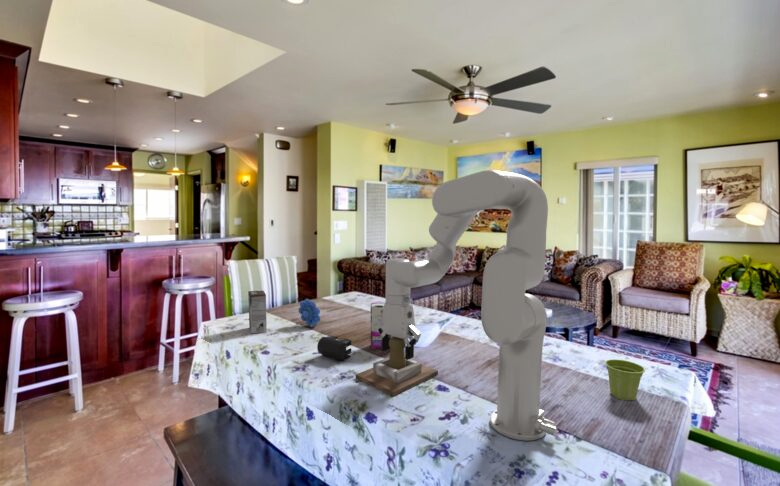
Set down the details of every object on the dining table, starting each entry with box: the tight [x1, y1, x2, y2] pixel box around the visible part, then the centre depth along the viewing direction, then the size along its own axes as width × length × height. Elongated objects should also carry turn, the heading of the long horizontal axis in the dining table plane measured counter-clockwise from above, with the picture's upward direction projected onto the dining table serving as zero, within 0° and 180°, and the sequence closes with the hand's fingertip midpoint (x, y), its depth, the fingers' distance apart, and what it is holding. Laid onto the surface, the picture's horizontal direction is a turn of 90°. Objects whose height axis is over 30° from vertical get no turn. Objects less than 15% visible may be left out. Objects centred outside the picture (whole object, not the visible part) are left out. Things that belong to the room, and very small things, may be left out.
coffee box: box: [248, 290, 267, 334], centre depth 163 cm, size 9×6×16 cm
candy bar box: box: [370, 302, 394, 350], centre depth 143 cm, size 11×5×16 cm, turn 92°
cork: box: [388, 337, 407, 370], centre depth 117 cm, size 6×6×11 cm
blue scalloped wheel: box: [297, 298, 322, 327], centre depth 168 cm, size 12×7×12 cm, turn 65°
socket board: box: [355, 356, 439, 397], centre depth 118 cm, size 16×20×4 cm
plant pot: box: [604, 359, 646, 401], centre depth 106 cm, size 9×9×9 cm
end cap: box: [316, 335, 352, 361], centre depth 133 cm, size 10×7×7 cm
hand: (397, 354), depth 117 cm, fingers open, 9 cm apart
